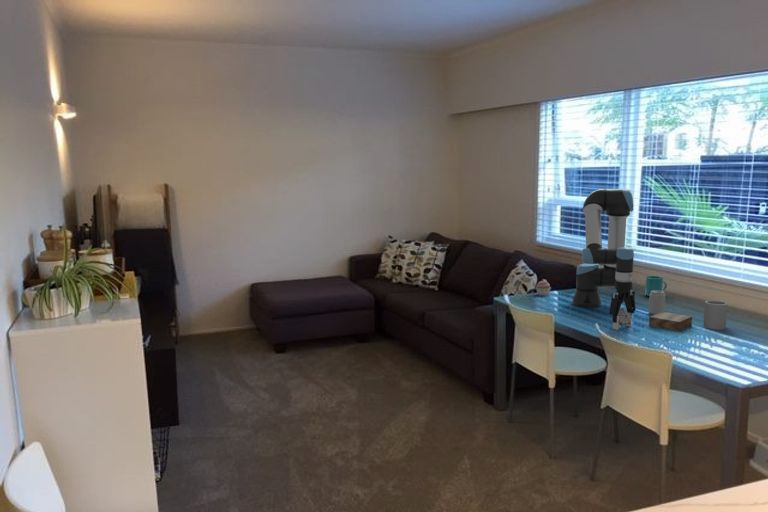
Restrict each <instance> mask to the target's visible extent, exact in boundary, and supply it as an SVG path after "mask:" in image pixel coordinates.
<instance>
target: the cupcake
mask: <svg viewBox="0 0 768 512" xmlns="http://www.w3.org/2000/svg"><path fill="white" fill-rule="evenodd" d="M551 289H552V287H551V285H550V283H549V282H548V281H547V279H544V278H542V280H540V281H538V283H537V284H536V286H535V290H536V292H537V296H539V297H549V295H550V291H551Z"/></svg>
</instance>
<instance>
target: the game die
mask: <svg viewBox="0 0 768 512" xmlns="http://www.w3.org/2000/svg"><path fill="white" fill-rule="evenodd" d="M631 315H632V316H633V313H632V314H629V313H628V312H627V310H624V308H623V307H622V308H621V309H620V310H619V313H618V316H619V326H621V329H623V327H624V326H625V325H627V324H631V325H632V322H631V323H630V318H631Z"/></svg>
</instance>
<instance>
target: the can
mask: <svg viewBox="0 0 768 512" xmlns="http://www.w3.org/2000/svg"><path fill="white" fill-rule="evenodd" d="M648 298H649V299H648V313H649V314H650V315H655V314H658V313H660V312H666V311H665V310H666V294H665V290H663V291H658V290H653V291H651V293H650V295H649V297H648Z"/></svg>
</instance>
